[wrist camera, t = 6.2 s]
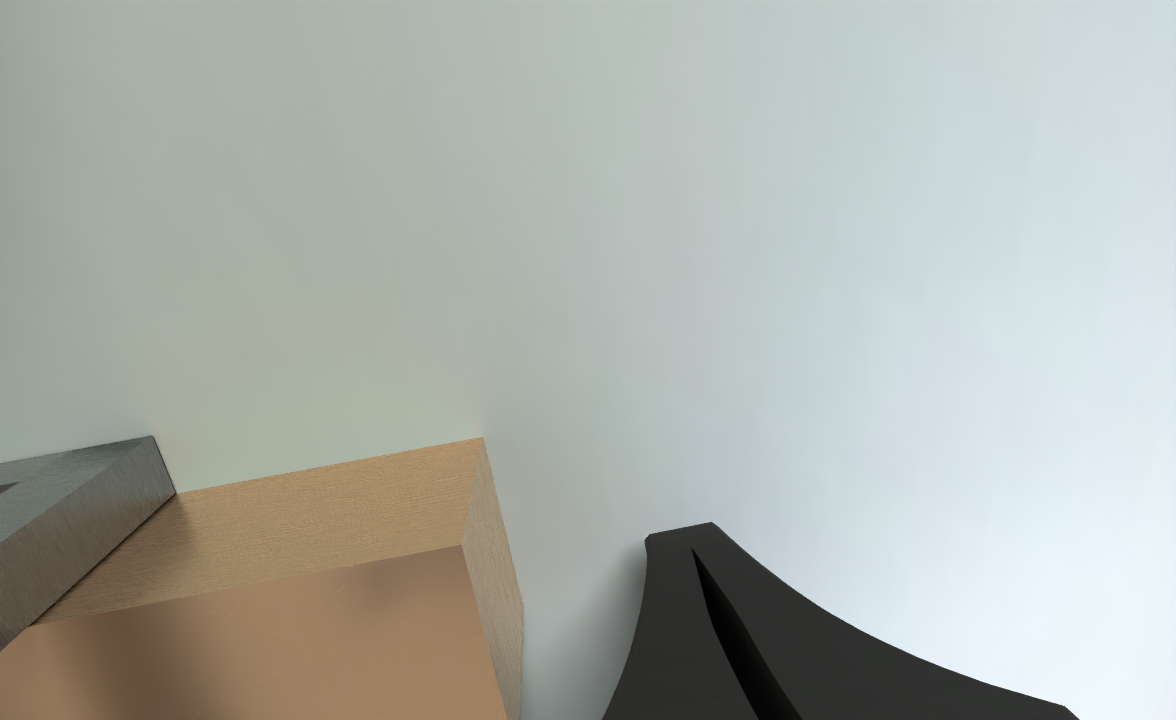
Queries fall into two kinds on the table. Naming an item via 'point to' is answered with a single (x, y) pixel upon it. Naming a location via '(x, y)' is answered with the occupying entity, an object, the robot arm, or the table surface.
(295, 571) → the pine wood beam
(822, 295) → the table surface
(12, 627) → the gray metal beam bracket
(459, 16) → the table surface
